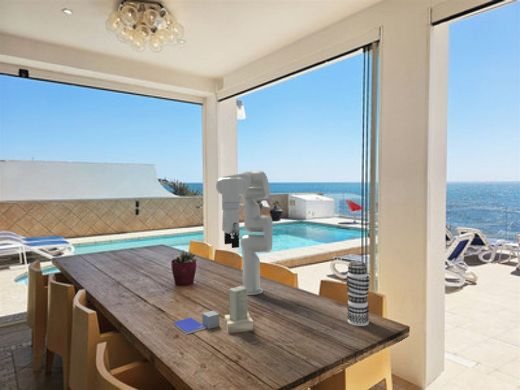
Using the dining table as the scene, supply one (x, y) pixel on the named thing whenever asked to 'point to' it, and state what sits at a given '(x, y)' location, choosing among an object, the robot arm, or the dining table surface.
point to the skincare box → (238, 303)
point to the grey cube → (210, 319)
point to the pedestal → (238, 324)
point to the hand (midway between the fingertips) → (231, 245)
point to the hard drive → (189, 325)
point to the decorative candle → (357, 293)
